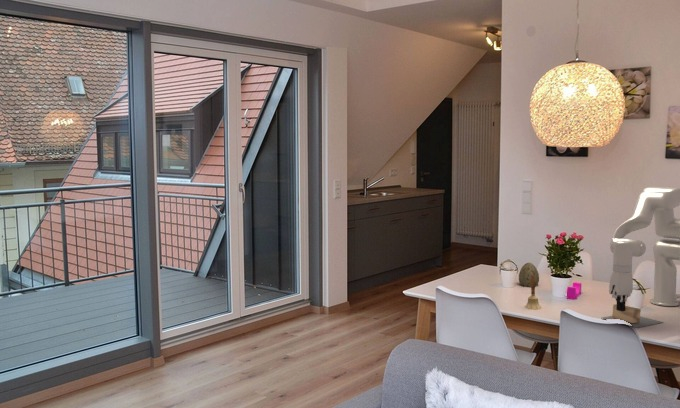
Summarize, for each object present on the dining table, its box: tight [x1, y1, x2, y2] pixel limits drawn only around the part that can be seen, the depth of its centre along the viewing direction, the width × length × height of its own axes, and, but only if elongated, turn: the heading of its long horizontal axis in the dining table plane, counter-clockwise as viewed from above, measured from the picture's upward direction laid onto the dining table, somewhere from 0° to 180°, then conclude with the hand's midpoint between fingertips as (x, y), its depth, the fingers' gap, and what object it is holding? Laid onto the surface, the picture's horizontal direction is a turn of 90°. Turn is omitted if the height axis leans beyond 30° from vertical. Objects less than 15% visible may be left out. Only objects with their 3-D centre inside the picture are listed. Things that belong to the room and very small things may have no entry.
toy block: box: [566, 281, 582, 301], centre depth 317 cm, size 15×6×8 cm, turn 147°
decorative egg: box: [518, 262, 540, 288], centre depth 340 cm, size 11×11×15 cm
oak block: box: [611, 303, 642, 323], centre depth 272 cm, size 5×10×6 cm, turn 28°
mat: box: [602, 315, 664, 329], centre depth 273 cm, size 18×18×1 cm
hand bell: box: [524, 276, 543, 310], centre depth 297 cm, size 8×8×16 cm
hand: (620, 310), depth 270 cm, fingers closed
